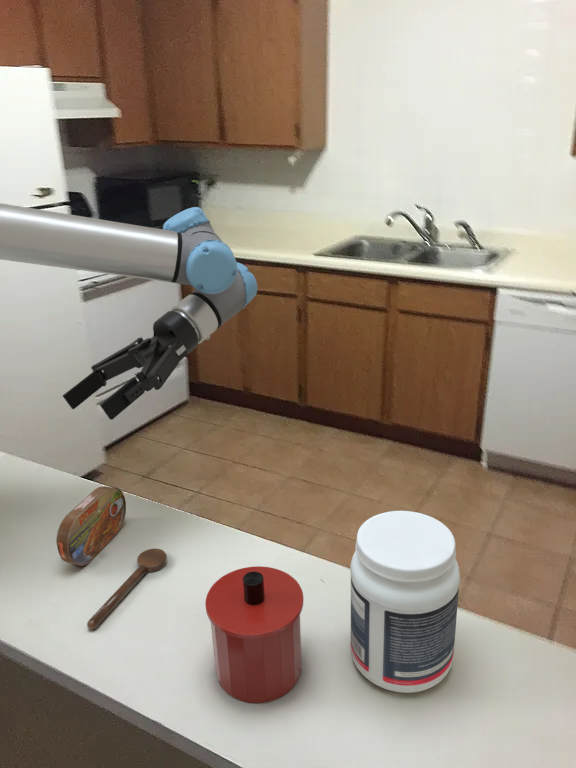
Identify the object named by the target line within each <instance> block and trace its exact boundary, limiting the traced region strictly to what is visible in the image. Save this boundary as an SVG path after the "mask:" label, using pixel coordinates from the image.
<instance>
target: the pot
mask: <svg viewBox="0 0 576 768" xmlns="http://www.w3.org/2000/svg"><path fill="white" fill-rule="evenodd" d="M210 627H211V628H210V629H211V638H212V648H213V657H214V667H215V674H216V677H217V681H218V683H219V686H220V687H221V688H222V690H223V691H224V692H225V693H227V695H229V696H230V697H232V698H233V699H235V700H238V701H241V702H244V703H249V704H262V703H263V704H264V703H269V702H272V701H276V700H277V699H281V698H282V697H283V696H285V695H286V694H288V693H289V692H290V691H291V690H293V688H294V687H295V686H296V685H297V683H298V681H299V679H300V677H301V673H302V640H301V638H302V637H301V614H300V615H299V617H298V618H297V620H296V621H295V622H294V623H293V624H292V625H291V626H289V627H288V628H286V629H285V630H283V631H281V632H279V633H277V634H275V635H272V636H268V637H264V638H257V639H244V638H238V637H233V636H230V635H228V634H225V633H223V632H222V631H220V630H219V629H217V628H216V627H215V626H214V625H213V624H212V623H211V622H210Z"/></svg>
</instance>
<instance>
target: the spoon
mask: <svg viewBox="0 0 576 768" xmlns="http://www.w3.org/2000/svg"><path fill="white" fill-rule="evenodd" d="M136 561H137V566H138V567H137V568H136V569H135V570H134V571H133V572H132V573H131V574H130V576H129V577H128V578H127V579H126V580H125V581H123V582H122V585H120V587H118V588H117V589H116V590H115V592H114V593H113V594H112V595H111V596H110V597H109V598H108V599H107V600H106V601H105V602H104V604H103V605H101V607H99V609H98V610H97V611H96V612H95V613H94V614H93V615H92V616H91V618H90V619H89V620H88V621H87V623H86V627H87V628H88V629H89V630H92V631H93V630H96V629H97V628H98V626H100V624H101V623H102V622H103V621H104V620H105V619H106V618H107V616H109V614H110V613H111V612H112V611H113V610H114V609H115V608H116V607H117V606H118V604H119V603H121V601H123V599H124V598H125V597H126V596H127V595H128V593H130V591H131V590H132V589H133V588H134V587H135V586H136V584H137V583H139V581H140V580H141V579H142V578H143V577H144V576H145V575H146V573H155V572H158V571H160V570H162V569H163V568H165V567H166V565H167V562H168V557H167V553H166V551H165V550H163V549H161V548H148V549H146V550H144V551H142V552H140V554H138V557H137V560H136Z"/></svg>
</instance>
